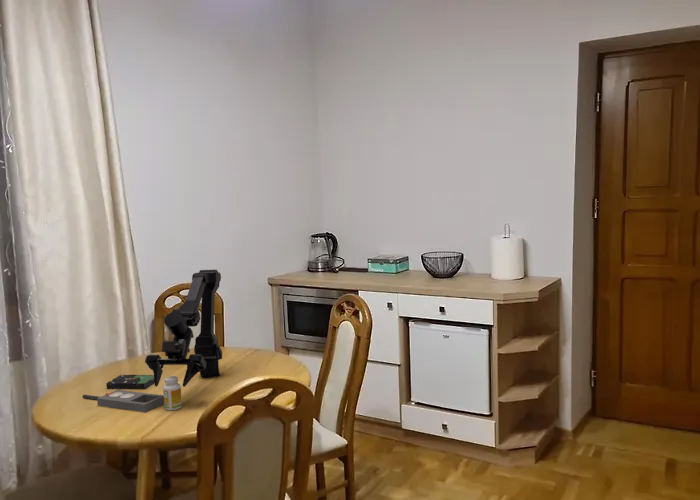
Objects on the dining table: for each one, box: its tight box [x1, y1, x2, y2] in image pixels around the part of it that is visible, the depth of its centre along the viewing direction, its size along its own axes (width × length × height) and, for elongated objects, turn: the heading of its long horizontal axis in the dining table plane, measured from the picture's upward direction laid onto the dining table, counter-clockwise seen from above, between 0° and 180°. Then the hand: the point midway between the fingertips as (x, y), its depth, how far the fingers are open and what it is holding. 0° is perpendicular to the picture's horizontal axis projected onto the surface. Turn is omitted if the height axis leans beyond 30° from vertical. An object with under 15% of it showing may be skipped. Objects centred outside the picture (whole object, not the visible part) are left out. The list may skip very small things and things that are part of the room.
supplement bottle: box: [162, 376, 183, 411], centre depth 201 cm, size 5×5×10 cm
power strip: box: [82, 389, 164, 413], centre depth 209 cm, size 31×9×3 cm, turn 66°
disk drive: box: [105, 374, 155, 390], centre depth 228 cm, size 10×3×15 cm
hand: (169, 386), depth 200 cm, fingers open, 9 cm apart
